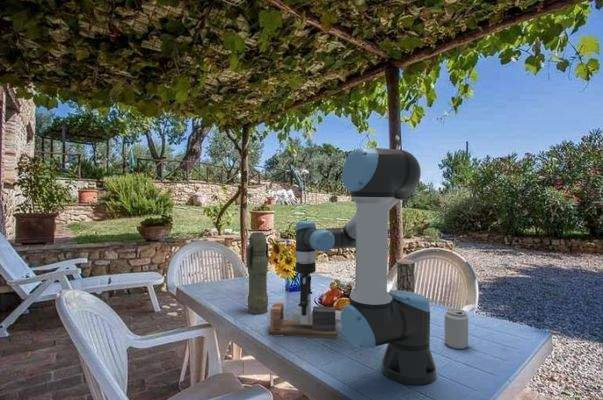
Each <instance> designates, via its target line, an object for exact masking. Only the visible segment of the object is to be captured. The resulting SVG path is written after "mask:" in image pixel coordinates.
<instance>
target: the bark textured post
mask: <svg viewBox="0 0 603 400" xmlns="http://www.w3.org/2000/svg"><path fill="white" fill-rule="evenodd" d="M396 263H397V264H396V290H401V291H408V292H413V293H415V271H416V269H415V267H416V266H415V263H416V261H415V260H412V259H405V258H403V259H397V262H396Z"/></svg>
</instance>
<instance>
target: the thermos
mask: <svg viewBox="0 0 603 400" xmlns="http://www.w3.org/2000/svg"><path fill="white" fill-rule="evenodd" d="M249 235H250V236H249V240H248V244H247V246H246V248H245V256H246V257H245V258H246V259H245V266H246V268H247V274H248V295H247V309H248V310H247V312H248V314H251V315H255V316H256V315H259V316H260V315H264V314H267V313H268V311H269V310H268V309H269V308H268V307H269V294H268V291H267V290H268V285H267V283H268V282H267V280H268V279H267V278H268V276H267V275H268V272H269V266H268V265H269V263H270V262H269V258H270V257H269V255H270V254H269V253H270V252H269V250H270V249H269V248H270V247H269V244H268V242H267V238H266V234H265V233H263V232H252V233H250V234H249Z"/></svg>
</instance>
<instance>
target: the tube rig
mask: <svg viewBox="0 0 603 400" xmlns="http://www.w3.org/2000/svg"><path fill="white" fill-rule="evenodd" d="M284 304H285V303H284V302H278V301H277V302H276V301H275V302H273V305H272V306H271V307H270V328H269V330H268V336H269V335H283V336H282V337H290V336H293V337H295V338H316V337H320V339H321V338H322V339H337V338H338V335H337V333H338V332H337V331H338V330H337V329H338V326H337V325H338V323H337V321H336V306H317V305H315V306H313V307H312V310H311V311H312V322H309V325H302V324H300V322H299V321H293V320H284V317H285V315H284V312H285V311H284V308H285V307H284ZM293 337H292V338H293Z"/></svg>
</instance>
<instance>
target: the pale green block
mask: <svg viewBox="0 0 603 400" xmlns="http://www.w3.org/2000/svg"><path fill="white" fill-rule="evenodd" d="M302 303H305V302H302ZM312 311H313V310H311V311H310V300H308V324H302V325H309V322H312ZM292 321H299V322H300V310H293V313H292Z"/></svg>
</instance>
